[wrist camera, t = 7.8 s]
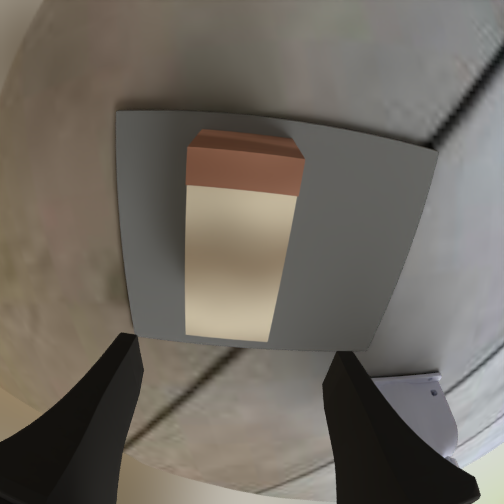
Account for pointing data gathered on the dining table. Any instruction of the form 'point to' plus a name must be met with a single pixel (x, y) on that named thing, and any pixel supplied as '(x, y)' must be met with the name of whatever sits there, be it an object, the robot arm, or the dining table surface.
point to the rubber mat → (302, 230)
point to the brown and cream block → (237, 230)
